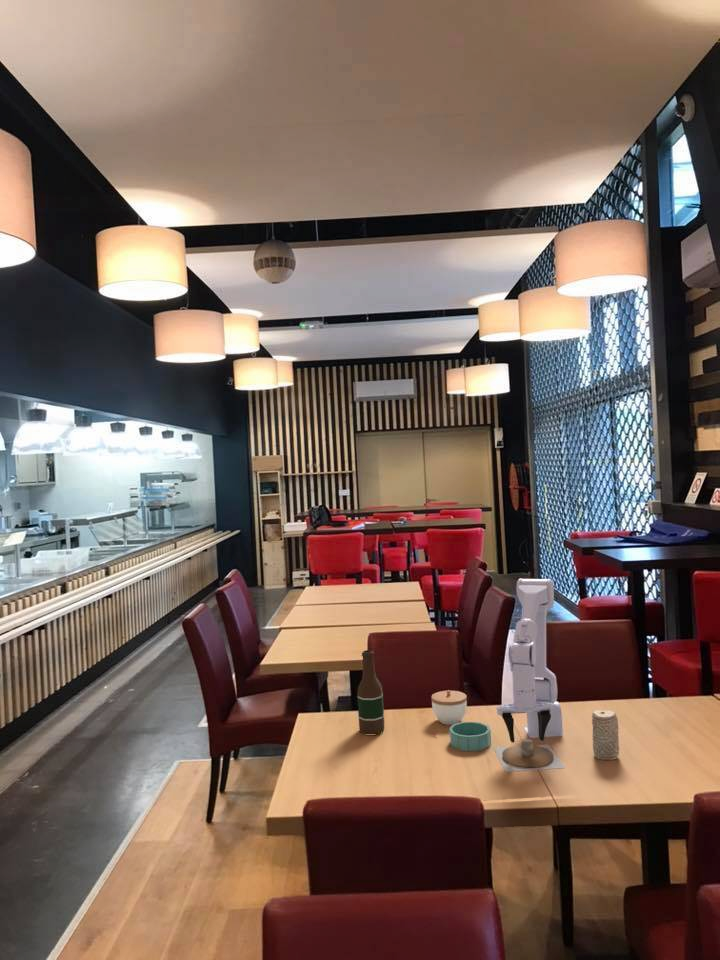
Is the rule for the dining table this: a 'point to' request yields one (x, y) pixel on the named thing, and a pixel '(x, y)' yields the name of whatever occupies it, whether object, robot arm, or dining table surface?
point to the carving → (605, 734)
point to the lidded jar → (449, 706)
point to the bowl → (470, 736)
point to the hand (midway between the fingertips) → (526, 740)
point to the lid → (527, 755)
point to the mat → (509, 768)
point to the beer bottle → (370, 698)
